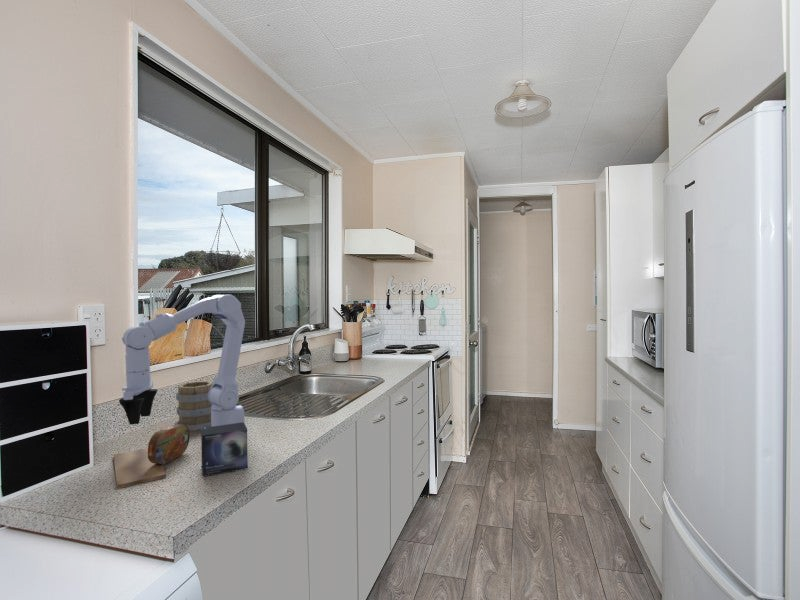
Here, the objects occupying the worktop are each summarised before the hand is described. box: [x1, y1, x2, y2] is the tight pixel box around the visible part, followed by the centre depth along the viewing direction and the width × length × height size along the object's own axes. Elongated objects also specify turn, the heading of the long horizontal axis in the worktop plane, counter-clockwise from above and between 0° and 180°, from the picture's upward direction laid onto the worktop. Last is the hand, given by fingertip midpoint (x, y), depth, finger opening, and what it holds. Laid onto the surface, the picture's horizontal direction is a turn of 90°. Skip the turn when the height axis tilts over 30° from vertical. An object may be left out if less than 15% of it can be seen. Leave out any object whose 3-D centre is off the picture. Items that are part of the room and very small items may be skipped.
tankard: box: [174, 380, 213, 432], centre depth 154 cm, size 20×13×15 cm, turn 132°
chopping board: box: [113, 447, 167, 489], centre depth 115 cm, size 10×24×1 cm, turn 34°
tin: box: [147, 424, 191, 465], centre depth 119 cm, size 15×3×8 cm, turn 174°
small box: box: [200, 422, 249, 477], centre depth 113 cm, size 11×6×10 cm, turn 117°
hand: (140, 419), depth 123 cm, fingers open, 7 cm apart
